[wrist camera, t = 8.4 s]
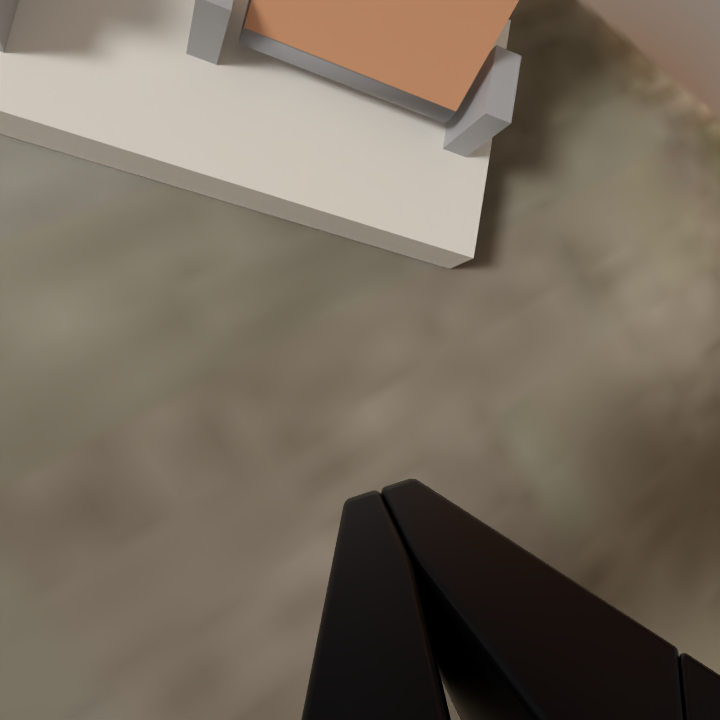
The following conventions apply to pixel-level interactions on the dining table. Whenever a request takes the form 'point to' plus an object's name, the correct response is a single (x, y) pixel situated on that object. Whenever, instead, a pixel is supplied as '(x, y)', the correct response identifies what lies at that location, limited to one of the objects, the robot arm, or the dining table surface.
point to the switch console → (249, 121)
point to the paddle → (383, 44)
